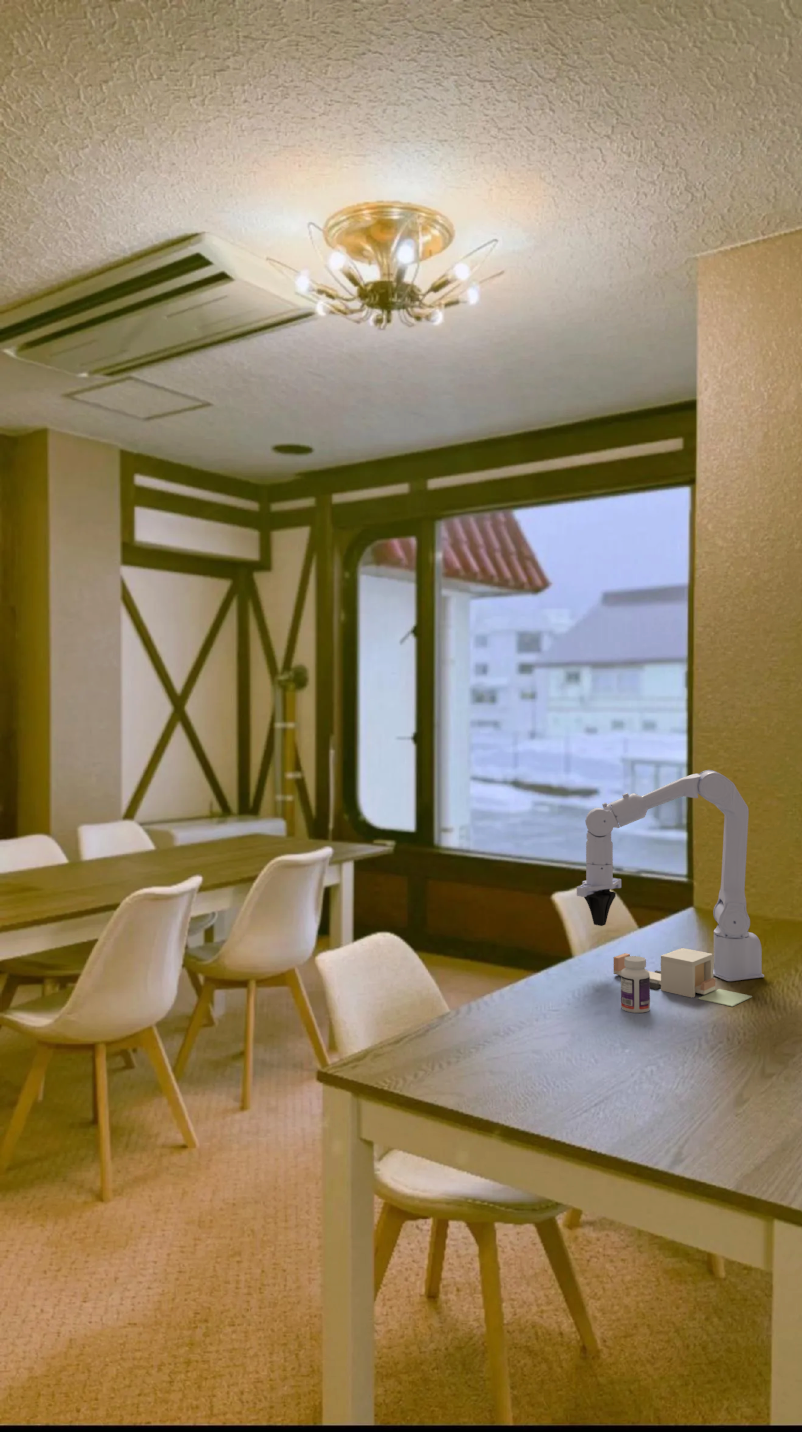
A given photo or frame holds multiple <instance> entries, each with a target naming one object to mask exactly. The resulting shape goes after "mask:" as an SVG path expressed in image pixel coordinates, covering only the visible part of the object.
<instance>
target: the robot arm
mask: <svg viewBox="0 0 802 1432" xmlns="http://www.w3.org/2000/svg"><path fill="white" fill-rule="evenodd" d="M699 796H700V797H702V798H703V799H704V800H706V801H707V802H709V803H711V804H713V805H714V806H715V807H716V808H717V809H718V810H719V812H721V813H723V815H724V818H723V819H724V820H723V821H724V822H723V839H722V841H723V842H722V843H723V844H722V859H721V860H722V861H721V878H720V879H721V880H720V888H719V891H718V892H719V893H718V899H717V902H716V903H715V905H714V907H713V912H712V913H713V918H714V920H715V922H716V923H717V925H716V928H714V930H713V977H716V978H719V979H721V980H724V981H725V982H735V981H741V980H742V981H743V980H751V979H759V978H764V977H765V974H763V973H762V962H763V961H762V956H763V955H762V944H761V941H760V939H759V937H758V936H757V935H756V934H755V933H753V932H749V929H750V928H751V927H750V926H751V919H750V917H749V914H748V912H747V898H746V893H745V892H746V891H745V889H746V886H745V885H746V869H747V868H746V867H747V852H748V851H747V849H748V831H749V816H750V815H749V811H750V810H749V807H748V805H747V803H746V802H745V800H744V798H743V797H742V795H741V793H740V792H739V790H738V788H737V787H736V785H735V783H734V782H733V781H732V780H730V779H729V778H728V777H727V776H725V775H724V774H721V773H720V772H718V771H715V770H712V769H707V770H703V771H700V773H692V774H690V775H686V776H684V777H681V778H678V779H675V780H673V781H672V782H670V783H668V784H666V785H663V786H661V787H659V788H656V789H654V790H652V791H650V792H648V793H645V794H644V795H639V794H637V793H634V792H632V793H631V794H629V792H626V793H623V794H622V797H621V798H619V799H617V800H614V801H611V802H609V803H607V802H604V803H602V805H601V806H602V807H595V808H592V809H591V810H590V811H589V812H587V814H586V818H585V826H586V829H587V832H586V842H585V847H586V848H585V860H586V861H585V863H586V865H585V868H586V869H585V871H586V873H585V875H586V876H585V878H586V880H582V881H581V883H582V884H581V885H578V886H576V896H577V897H581V898H582V897H583V898H584V899H585V901H586V904H587V906H588V908H589V911H590V914H591V918H592V922H593V925H594V926H598V927H603V926H605V925H606V923H607V922H608V921H607V920H608V916H609V912H610V909H611V907H612V904H613V902H614V901H615V898H616V897H617V895H616V894H617V893H616V891H612V890H613V889H621V888H622V879H621V878H616V877H613V875H614V874H613V872H614V870H613V868H614V867H613V866H614V865H613V864H614V862H613V861H614V858H613V852H614V851H613V850H614V849H613V846H614V845H613V842H612V841H613V840H612V831H613V830H614V829H615V828H616V829H619V828H622V827H625V826H627V825H629V824H630V825H631V824H632V823H634V822H637V821H639V820H641V819H644V818H645V817H646V815H647V812H648V810H649V809H653V808H655V807H659V806H661V805H664V804H666V803H669V802H671V801H675V800H677V799H679V798H682V797H686V798H692V799H699ZM610 890H611V891H610Z"/></svg>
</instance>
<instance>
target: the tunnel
mask: <svg viewBox="0 0 802 1432" xmlns="http://www.w3.org/2000/svg"><path fill="white" fill-rule="evenodd" d="M702 963H704V981H706V980H708V979H711V978H714V975H713V969H714V953H709V952H705V951H701V950H695V949H690V948H684V947H681V948H678V949H675V950H673V951H671V952H668V953H664V954H662V955H660V971H661V988H660V991H662V992H667V993H671V994H675V995H679V996H682V997H683V996H684V997H688V998H692V997H693V998H695V997H696V993H695V966H697V965H699V964H702Z"/></svg>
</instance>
